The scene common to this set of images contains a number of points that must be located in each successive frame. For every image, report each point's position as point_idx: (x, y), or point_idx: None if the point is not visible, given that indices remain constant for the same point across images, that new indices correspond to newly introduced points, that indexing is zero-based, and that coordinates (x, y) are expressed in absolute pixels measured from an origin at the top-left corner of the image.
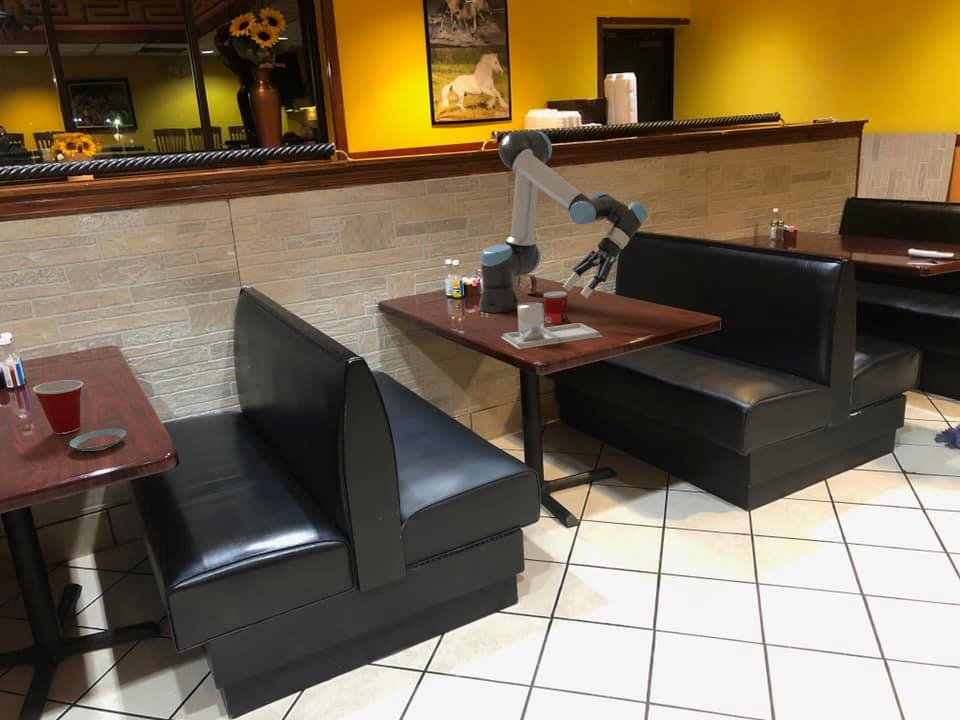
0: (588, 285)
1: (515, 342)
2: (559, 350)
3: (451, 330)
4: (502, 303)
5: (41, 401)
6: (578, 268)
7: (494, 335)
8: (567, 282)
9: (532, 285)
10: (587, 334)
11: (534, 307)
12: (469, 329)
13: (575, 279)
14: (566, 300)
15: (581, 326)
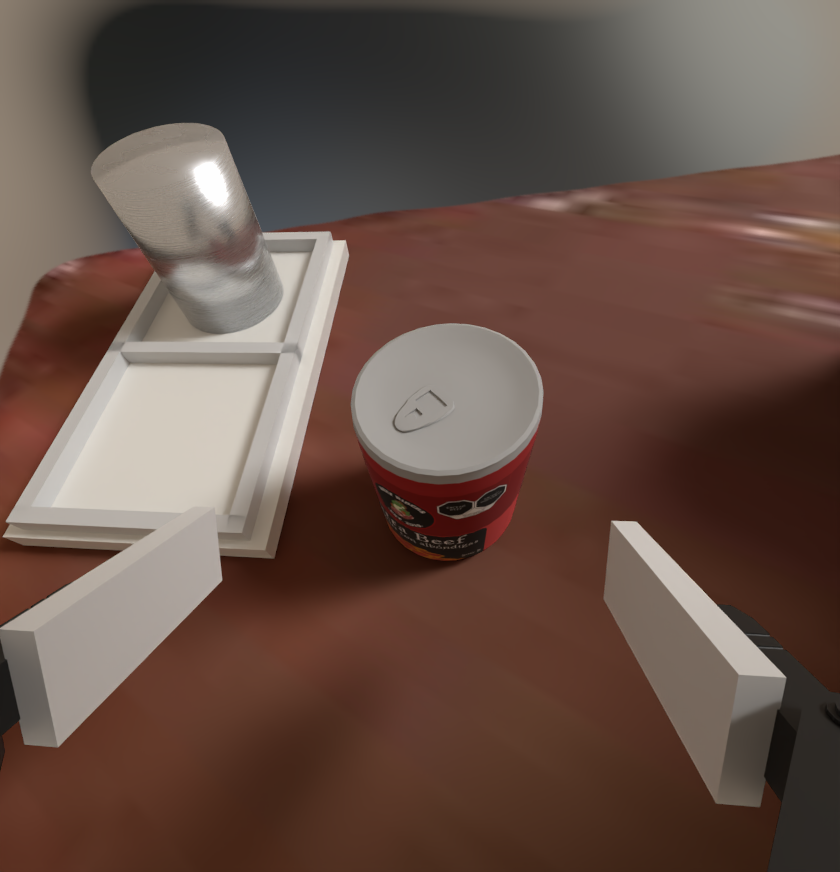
0: (112, 563)
1: None
2: (98, 351)
3: (587, 190)
4: None
5: None
6: (832, 784)
7: (438, 260)
8: (637, 554)
9: None
10: (46, 460)
11: (102, 154)
12: (572, 225)
13: (675, 684)
14: (372, 471)
15: None
